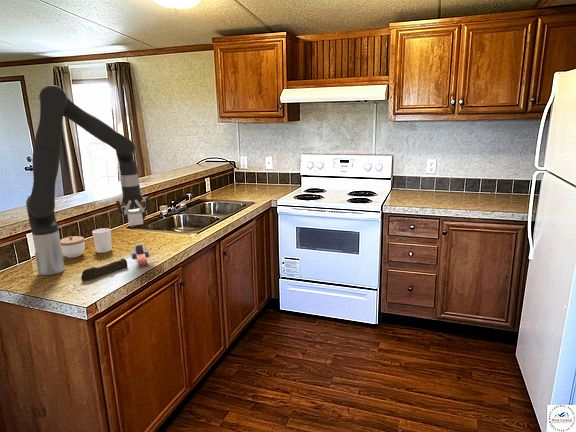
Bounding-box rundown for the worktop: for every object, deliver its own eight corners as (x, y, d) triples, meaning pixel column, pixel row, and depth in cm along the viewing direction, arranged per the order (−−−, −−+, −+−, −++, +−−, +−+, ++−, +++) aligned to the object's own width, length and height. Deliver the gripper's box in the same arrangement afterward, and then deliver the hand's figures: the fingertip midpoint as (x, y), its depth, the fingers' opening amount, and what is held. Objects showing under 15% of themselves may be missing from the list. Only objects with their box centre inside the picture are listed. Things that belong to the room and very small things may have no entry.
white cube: (129, 225, 178) (127, 212, 176) (128, 222, 183) (126, 210, 181) (143, 223, 180) (141, 211, 178) (142, 220, 185) (140, 208, 184)
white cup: (109, 246, 197) (106, 227, 194) (115, 250, 191) (113, 230, 189) (92, 250, 192) (89, 230, 189) (98, 254, 186) (95, 234, 184)
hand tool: (123, 266, 172) (122, 255, 171) (128, 268, 170) (127, 257, 168) (78, 280, 158) (77, 270, 156) (83, 283, 155) (81, 272, 154)
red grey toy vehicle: (134, 268, 168) (133, 257, 167) (131, 253, 187) (130, 243, 186) (152, 265, 171) (151, 254, 170) (146, 251, 190) (145, 241, 188)
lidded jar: (82, 258, 181) (79, 238, 179) (56, 260, 179) (53, 240, 177) (89, 250, 191) (86, 232, 189) (65, 252, 190) (62, 233, 187)
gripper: (113, 187, 171) (118, 225, 175) (148, 184, 176) (153, 220, 181) (112, 184, 177) (118, 221, 182) (146, 181, 183) (151, 216, 187)
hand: (135, 220), depth 181 cm, fingers closed on white cube, 6 cm apart
